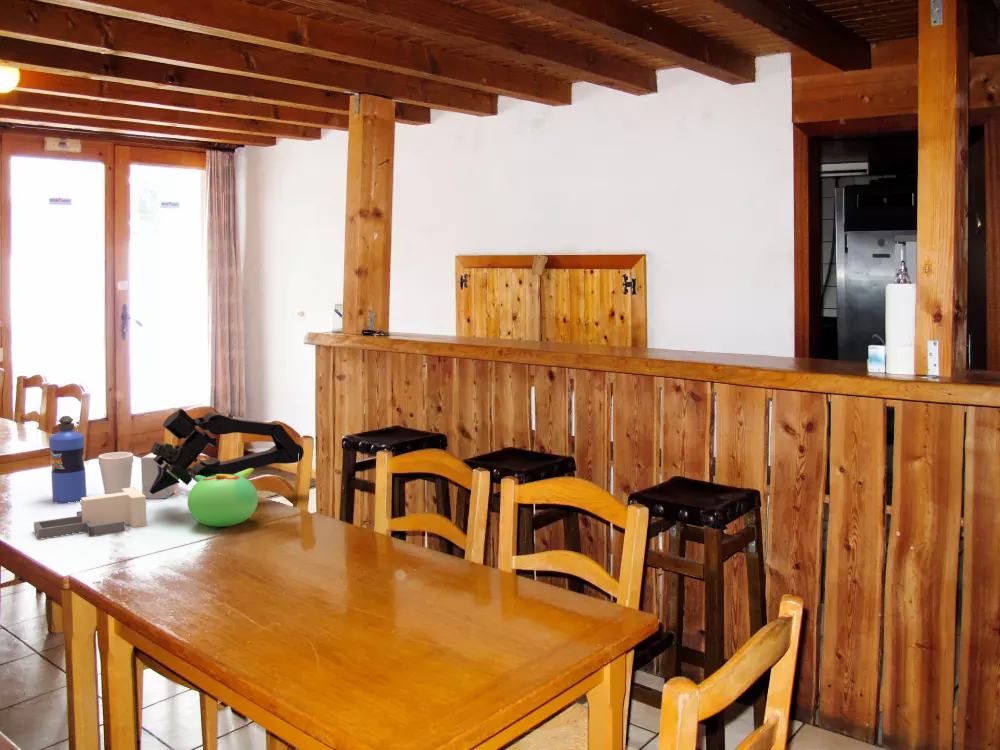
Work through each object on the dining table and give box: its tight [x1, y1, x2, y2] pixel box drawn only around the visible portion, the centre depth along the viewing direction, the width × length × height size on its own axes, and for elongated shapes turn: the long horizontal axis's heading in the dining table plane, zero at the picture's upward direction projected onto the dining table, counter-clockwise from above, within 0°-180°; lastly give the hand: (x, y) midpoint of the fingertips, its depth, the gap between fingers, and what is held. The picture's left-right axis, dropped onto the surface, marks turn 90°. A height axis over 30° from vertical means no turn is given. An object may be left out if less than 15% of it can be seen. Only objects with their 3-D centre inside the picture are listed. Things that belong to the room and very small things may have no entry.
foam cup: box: [97, 451, 134, 495], centre depth 263 cm, size 10×9×13 cm
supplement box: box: [140, 452, 176, 499], centre depth 266 cm, size 7×7×13 cm
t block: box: [80, 486, 148, 528], centre depth 236 cm, size 14×12×8 cm
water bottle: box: [48, 415, 87, 504], centre depth 259 cm, size 9×9×25 cm
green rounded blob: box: [187, 468, 259, 528], centre depth 236 cm, size 18×17×15 cm
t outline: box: [33, 510, 126, 540], centre depth 231 cm, size 20×17×2 cm
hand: (150, 492), depth 242 cm, fingers closed
